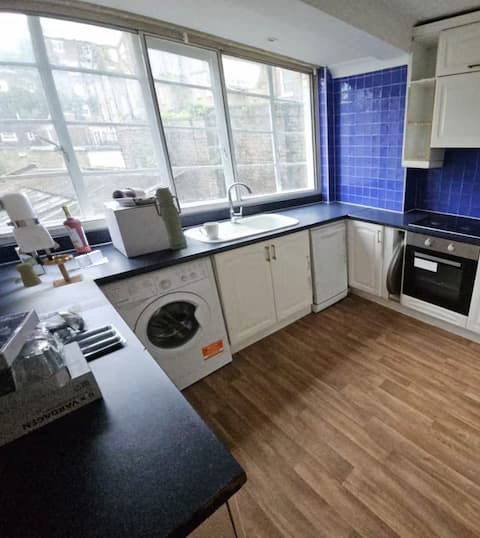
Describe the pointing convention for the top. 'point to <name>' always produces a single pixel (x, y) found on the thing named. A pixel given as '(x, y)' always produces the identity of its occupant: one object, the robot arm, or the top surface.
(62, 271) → the stand
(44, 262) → the brass hoop
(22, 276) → the cork
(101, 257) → the napkin holder
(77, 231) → the liquor
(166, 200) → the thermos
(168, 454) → the top surface
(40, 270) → the syrup box
